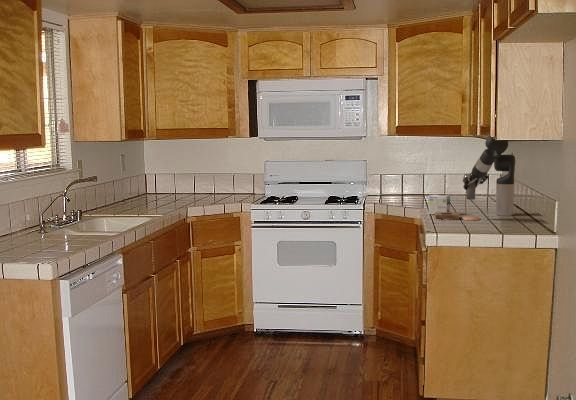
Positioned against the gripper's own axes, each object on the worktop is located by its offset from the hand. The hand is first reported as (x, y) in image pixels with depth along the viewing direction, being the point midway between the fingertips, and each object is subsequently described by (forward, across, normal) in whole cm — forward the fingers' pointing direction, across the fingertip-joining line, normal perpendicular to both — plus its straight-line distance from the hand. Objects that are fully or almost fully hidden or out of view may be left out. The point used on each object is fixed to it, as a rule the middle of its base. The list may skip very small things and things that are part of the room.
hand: (468, 188), depth 335 cm
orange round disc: (+10, 0, +13) cm, 16 cm away
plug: (+3, 0, +5) cm, 6 cm away
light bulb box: (+27, +5, -4) cm, 28 cm away
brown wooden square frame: (+16, +9, +7) cm, 20 cm away
